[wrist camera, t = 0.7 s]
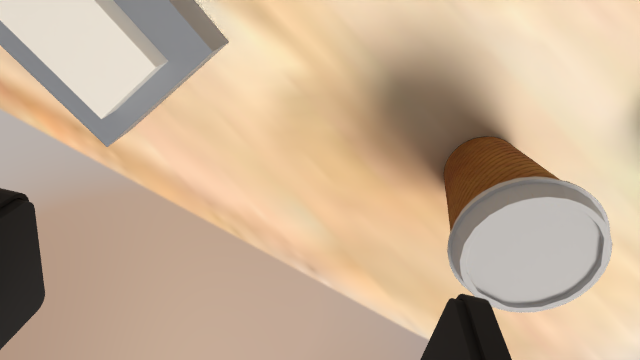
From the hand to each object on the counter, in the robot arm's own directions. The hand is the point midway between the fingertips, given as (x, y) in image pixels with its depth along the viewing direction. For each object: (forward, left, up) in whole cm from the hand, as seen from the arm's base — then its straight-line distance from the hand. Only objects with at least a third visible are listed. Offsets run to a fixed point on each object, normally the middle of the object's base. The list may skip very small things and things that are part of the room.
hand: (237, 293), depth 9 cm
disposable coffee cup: (+15, +5, -26) cm, 31 cm away
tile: (-12, -11, -22) cm, 27 cm away
